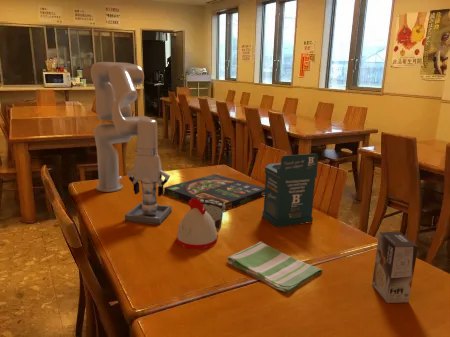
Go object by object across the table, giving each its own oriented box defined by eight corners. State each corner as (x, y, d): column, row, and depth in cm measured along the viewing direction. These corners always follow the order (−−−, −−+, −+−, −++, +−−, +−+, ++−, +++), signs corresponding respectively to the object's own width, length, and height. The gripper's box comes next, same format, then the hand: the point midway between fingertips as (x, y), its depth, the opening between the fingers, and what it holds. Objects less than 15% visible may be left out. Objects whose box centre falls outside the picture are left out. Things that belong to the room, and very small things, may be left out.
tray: (139, 208, 157) (139, 203, 157) (171, 211, 155) (171, 206, 154) (125, 221, 144) (124, 215, 143) (159, 224, 142) (159, 218, 141)
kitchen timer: (199, 228, 140) (199, 190, 136) (225, 241, 130) (226, 200, 126) (168, 239, 130) (168, 198, 126) (194, 253, 121) (195, 209, 117)
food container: (230, 224, 144) (230, 199, 142) (223, 230, 139) (224, 204, 136) (201, 218, 149) (202, 194, 147) (194, 223, 144) (194, 199, 141)
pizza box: (267, 195, 181) (267, 188, 180) (218, 214, 156) (218, 206, 155) (214, 180, 203) (214, 174, 202) (164, 194, 178) (164, 187, 177)
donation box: (276, 227, 143) (281, 155, 136) (257, 212, 157) (261, 147, 150) (312, 222, 148) (318, 153, 141) (291, 208, 163) (296, 145, 156)
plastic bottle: (160, 212, 152) (159, 164, 147) (155, 218, 146) (154, 168, 141) (144, 210, 153) (143, 163, 148) (139, 217, 146) (137, 167, 141)
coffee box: (410, 302, 98) (420, 246, 94) (386, 303, 97) (395, 246, 93) (392, 283, 107) (400, 231, 102) (370, 283, 106) (378, 231, 102)
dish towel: (287, 297, 99) (287, 288, 99) (224, 264, 115) (224, 256, 114) (322, 273, 112) (323, 265, 111) (261, 246, 127) (262, 239, 127)
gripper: (122, 152, 141) (123, 195, 145) (166, 155, 138) (166, 199, 142) (130, 148, 148) (132, 189, 152) (172, 151, 145) (172, 193, 149)
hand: (148, 194), depth 147 cm, fingers open, 9 cm apart
